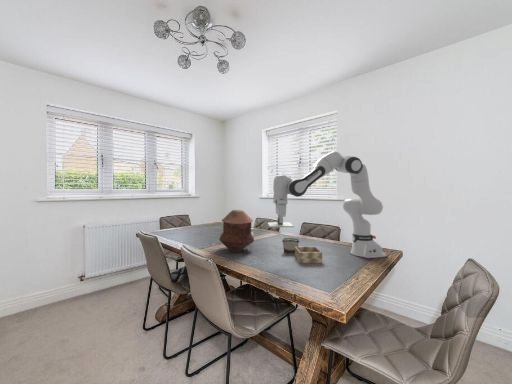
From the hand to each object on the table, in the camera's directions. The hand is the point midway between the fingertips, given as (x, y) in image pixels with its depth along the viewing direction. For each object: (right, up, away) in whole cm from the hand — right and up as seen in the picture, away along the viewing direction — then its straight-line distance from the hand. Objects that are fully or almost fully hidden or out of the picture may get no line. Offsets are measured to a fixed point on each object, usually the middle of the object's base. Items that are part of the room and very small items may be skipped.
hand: (280, 222), depth 148 cm
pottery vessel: (-30, -24, +25) cm, 46 cm away
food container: (+9, -25, +19) cm, 32 cm away
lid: (0, -2, 0) cm, 2 cm away
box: (+18, -25, +1) cm, 31 cm away
